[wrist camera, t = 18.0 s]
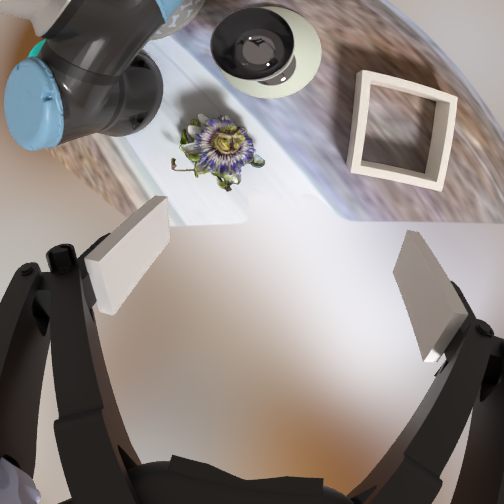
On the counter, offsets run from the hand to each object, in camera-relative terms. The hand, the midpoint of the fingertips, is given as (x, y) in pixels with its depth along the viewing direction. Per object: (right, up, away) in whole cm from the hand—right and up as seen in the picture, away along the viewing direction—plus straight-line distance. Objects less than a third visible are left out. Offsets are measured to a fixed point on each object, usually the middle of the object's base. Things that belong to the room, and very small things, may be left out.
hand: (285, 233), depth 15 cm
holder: (+20, +17, +22) cm, 34 cm away
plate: (+1, +28, +20) cm, 34 cm away
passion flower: (-6, +15, +29) cm, 33 cm away
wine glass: (+1, +26, +20) cm, 32 cm away
